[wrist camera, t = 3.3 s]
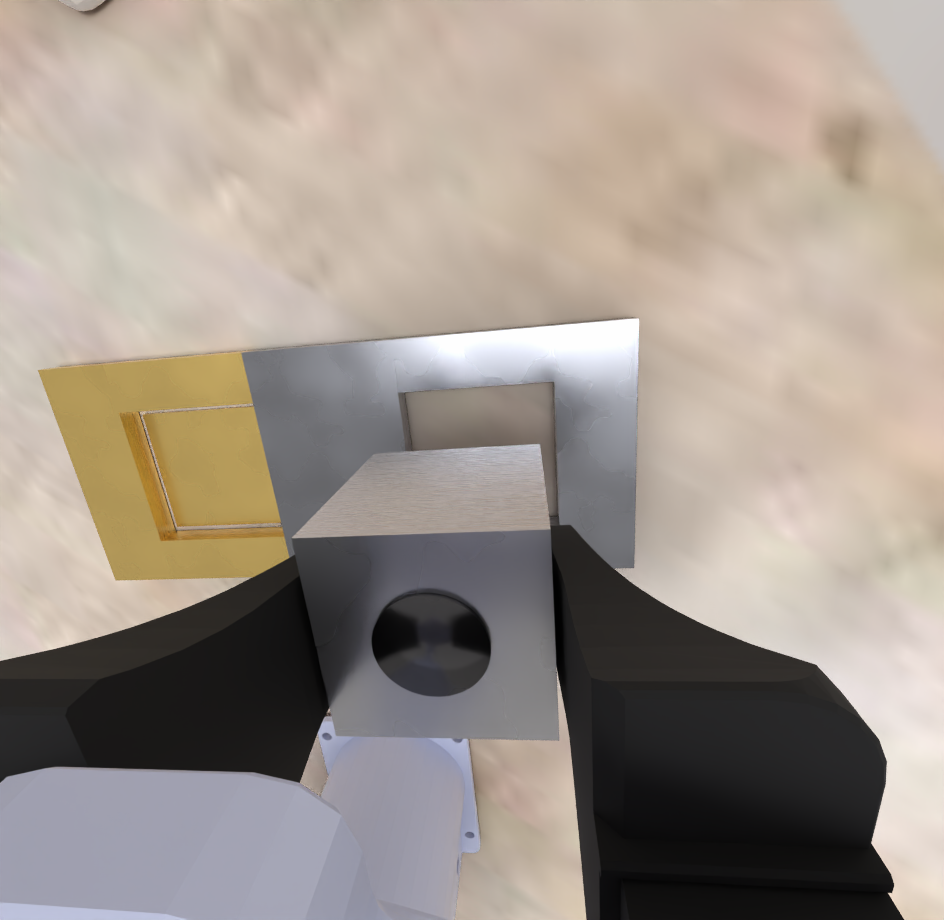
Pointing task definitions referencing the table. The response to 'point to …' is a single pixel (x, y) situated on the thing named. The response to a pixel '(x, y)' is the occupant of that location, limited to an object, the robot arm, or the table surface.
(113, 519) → the rail
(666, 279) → the table surface
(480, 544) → the grey cube with hole
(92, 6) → the eye dropper bottle
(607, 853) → the robot arm
